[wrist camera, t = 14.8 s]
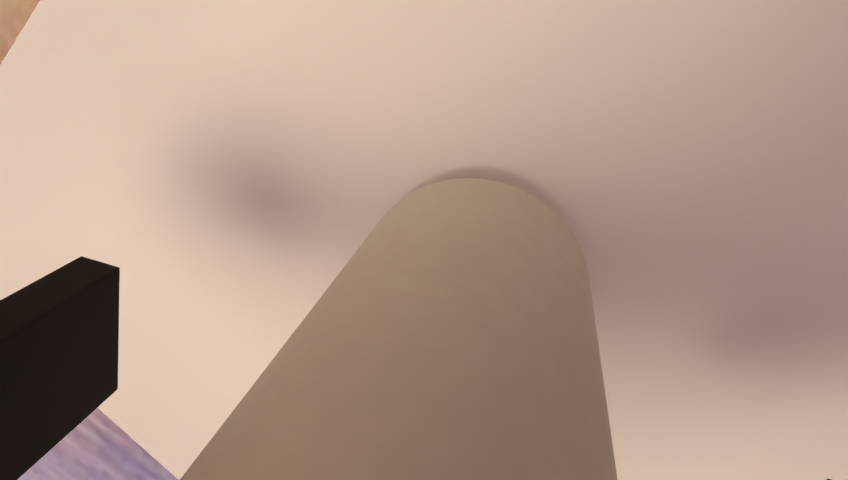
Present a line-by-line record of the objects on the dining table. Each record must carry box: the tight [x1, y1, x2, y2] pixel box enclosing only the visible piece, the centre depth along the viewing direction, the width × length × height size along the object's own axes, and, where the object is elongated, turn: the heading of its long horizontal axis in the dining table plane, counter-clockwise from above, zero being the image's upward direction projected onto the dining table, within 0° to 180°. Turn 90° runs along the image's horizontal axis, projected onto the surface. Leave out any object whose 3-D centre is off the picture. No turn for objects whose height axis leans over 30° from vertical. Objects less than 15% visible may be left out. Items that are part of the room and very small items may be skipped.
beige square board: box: [0, 0, 848, 480], centre depth 17 cm, size 26×26×2 cm
